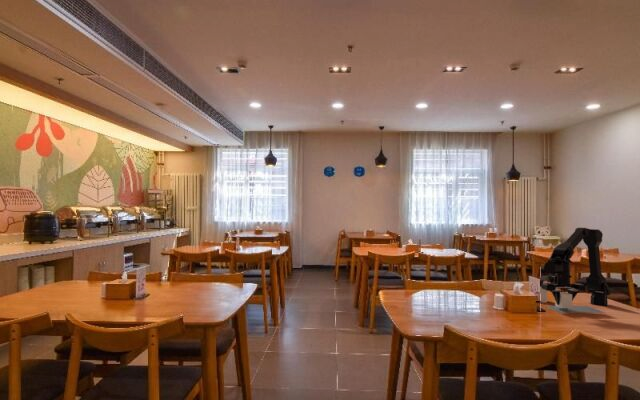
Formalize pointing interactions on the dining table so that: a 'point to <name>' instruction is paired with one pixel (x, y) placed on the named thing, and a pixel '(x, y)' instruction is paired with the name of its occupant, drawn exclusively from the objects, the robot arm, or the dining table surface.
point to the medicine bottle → (543, 293)
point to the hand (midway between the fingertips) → (563, 304)
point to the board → (576, 309)
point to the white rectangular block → (565, 300)
